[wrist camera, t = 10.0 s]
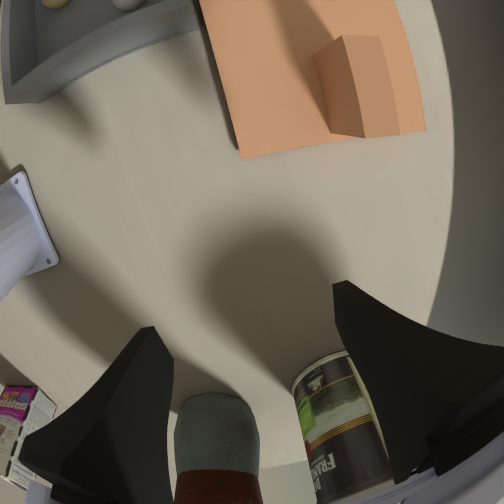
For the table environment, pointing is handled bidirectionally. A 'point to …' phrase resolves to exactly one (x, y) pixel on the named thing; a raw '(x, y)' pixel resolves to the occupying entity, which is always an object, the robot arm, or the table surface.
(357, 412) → the coffee can
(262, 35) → the lid
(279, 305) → the table surface
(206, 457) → the bottle
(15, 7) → the tub
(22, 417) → the candy bar box
